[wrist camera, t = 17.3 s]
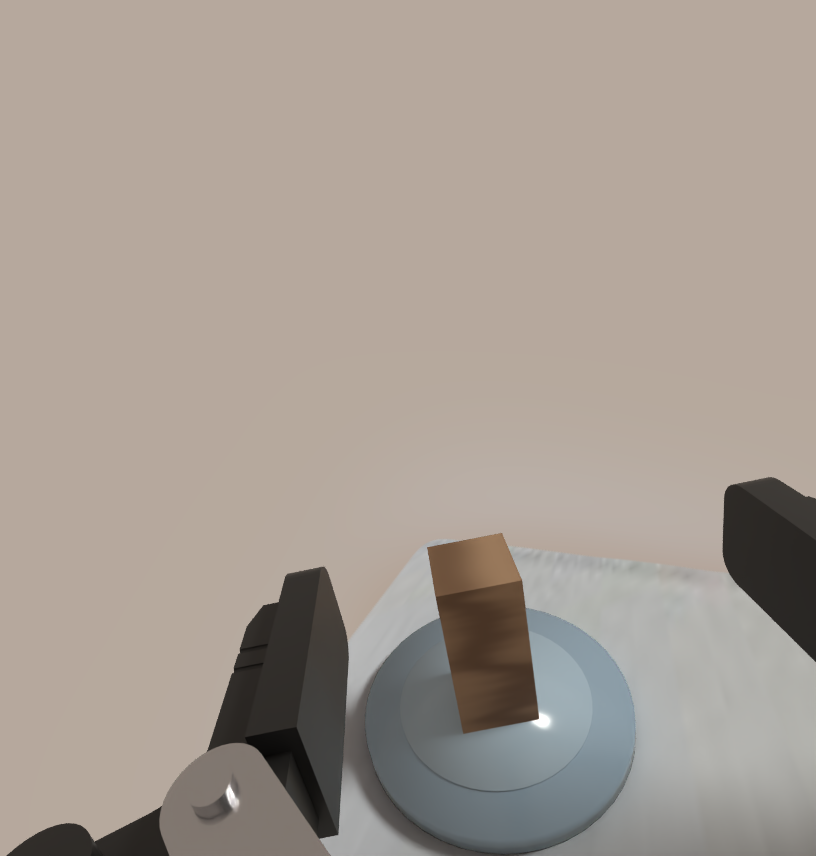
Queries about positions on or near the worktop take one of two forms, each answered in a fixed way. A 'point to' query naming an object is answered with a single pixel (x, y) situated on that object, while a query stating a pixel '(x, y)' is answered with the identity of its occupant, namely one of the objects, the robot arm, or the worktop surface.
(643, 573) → the worktop surface
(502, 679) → the walnut block
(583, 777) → the slate plate
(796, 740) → the worktop surface
